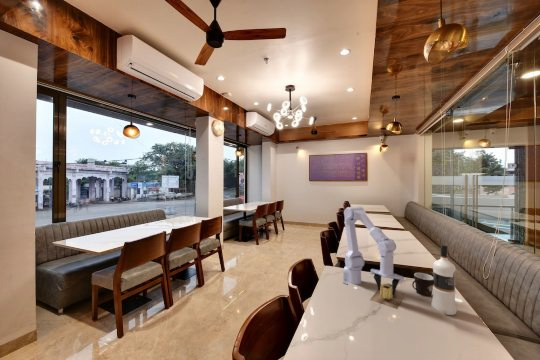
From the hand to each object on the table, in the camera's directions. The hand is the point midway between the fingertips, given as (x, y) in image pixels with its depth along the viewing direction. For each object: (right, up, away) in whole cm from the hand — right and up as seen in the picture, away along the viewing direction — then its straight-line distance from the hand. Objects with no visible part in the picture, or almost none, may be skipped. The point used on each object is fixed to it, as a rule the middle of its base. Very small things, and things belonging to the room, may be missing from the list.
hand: (386, 291), depth 113 cm
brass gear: (0, -2, 0) cm, 2 cm away
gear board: (+2, -5, +2) cm, 6 cm away
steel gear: (+4, -4, +4) cm, 7 cm away
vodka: (+23, -5, -7) cm, 24 cm away
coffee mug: (+21, -5, +6) cm, 22 cm away
